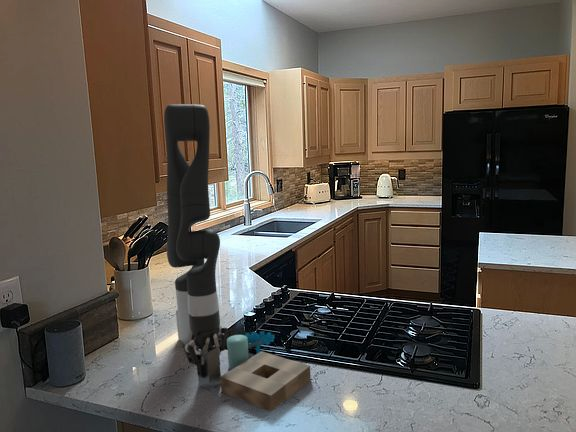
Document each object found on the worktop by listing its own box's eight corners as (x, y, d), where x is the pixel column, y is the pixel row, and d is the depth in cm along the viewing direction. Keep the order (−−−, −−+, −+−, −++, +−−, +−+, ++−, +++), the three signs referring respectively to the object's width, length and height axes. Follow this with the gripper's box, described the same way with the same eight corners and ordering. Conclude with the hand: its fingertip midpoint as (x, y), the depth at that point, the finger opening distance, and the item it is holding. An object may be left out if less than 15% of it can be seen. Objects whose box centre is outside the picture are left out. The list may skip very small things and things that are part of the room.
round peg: (224, 368, 128) (222, 340, 127) (238, 359, 133) (236, 333, 131) (239, 373, 125) (237, 345, 123) (253, 364, 129) (251, 337, 128)
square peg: (199, 385, 120) (195, 349, 118) (210, 378, 123) (207, 343, 121) (210, 390, 117) (206, 353, 116) (221, 383, 120) (218, 346, 119)
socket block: (221, 391, 116) (220, 376, 116) (262, 364, 129) (261, 351, 128) (271, 411, 107) (270, 395, 106) (310, 380, 119) (310, 365, 119)
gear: (277, 339, 141) (270, 326, 133) (278, 358, 137) (272, 347, 129) (241, 344, 142) (232, 332, 134) (242, 364, 138) (233, 353, 130)
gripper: (213, 298, 124) (218, 358, 127) (171, 315, 113) (177, 381, 116) (234, 302, 120) (238, 365, 123) (192, 322, 109) (198, 390, 112)
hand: (209, 372), depth 119 cm, fingers closed on square peg, 4 cm apart
